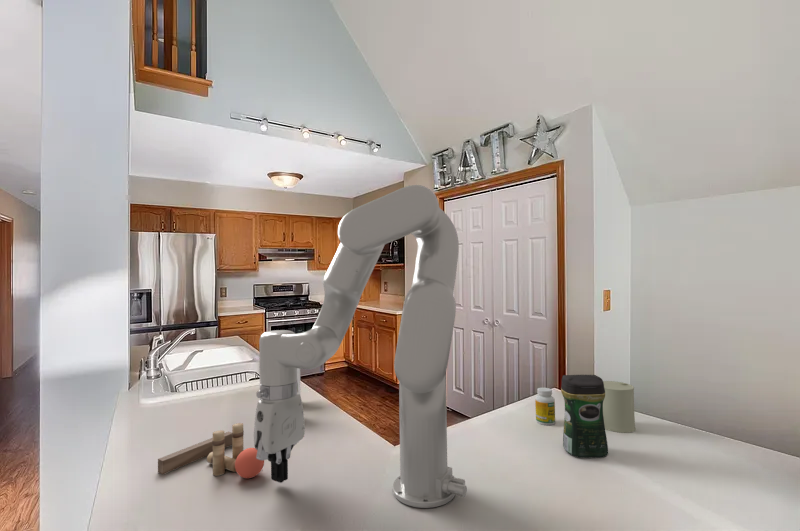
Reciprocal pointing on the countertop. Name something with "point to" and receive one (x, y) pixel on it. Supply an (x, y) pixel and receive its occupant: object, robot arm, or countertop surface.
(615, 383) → the can
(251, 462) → the ball
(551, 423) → the supplement bottle
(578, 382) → the coffee jar
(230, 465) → the front pin
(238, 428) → the right back pin
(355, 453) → the countertop surface
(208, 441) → the back wall
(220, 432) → the left back pin
